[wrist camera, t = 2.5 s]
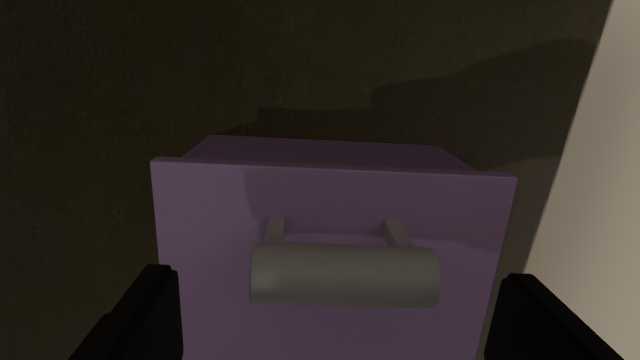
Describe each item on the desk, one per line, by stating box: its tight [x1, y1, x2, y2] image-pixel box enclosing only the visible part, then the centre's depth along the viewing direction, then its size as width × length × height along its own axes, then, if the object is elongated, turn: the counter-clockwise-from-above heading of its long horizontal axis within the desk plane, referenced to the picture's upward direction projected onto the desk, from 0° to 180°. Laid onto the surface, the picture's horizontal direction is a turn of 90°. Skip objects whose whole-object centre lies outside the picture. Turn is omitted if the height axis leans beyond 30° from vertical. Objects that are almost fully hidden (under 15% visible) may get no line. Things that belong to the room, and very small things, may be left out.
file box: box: [181, 135, 476, 171], centre depth 23 cm, size 14×16×9 cm
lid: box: [150, 157, 518, 360], centre depth 15 cm, size 14×16×6 cm
